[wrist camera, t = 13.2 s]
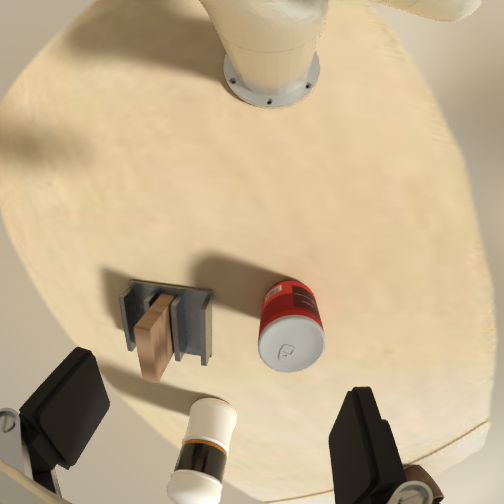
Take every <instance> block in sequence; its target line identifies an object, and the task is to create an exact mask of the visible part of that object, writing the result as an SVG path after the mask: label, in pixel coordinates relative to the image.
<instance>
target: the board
mask: <svg viewBox="0 0 504 504" xmlns="http://www.w3.org/2000/svg"><path fill="white" fill-rule="evenodd" d="M174 300H175V296H173V295H165V294H161V295H160V296H159V298H158V299H157V300H156V301H155V302H154V303H153V305H152V306H151V307H150V308H149V309H148V311H147V312H146V313H145V314H144V315H143V317H142V318H141V319H140V320H139V321H138V323H137V324H136V325H135V326H134V327H133V328H134V334H135V340H136V346H137V352H138V357H139V362H140V367H141V372H142V376H143V380H144V381H148V382H153V383H157V384H158V382H159V380H160V378H161V376H162V374H163V372H164V371H165V369H166V367H167V365H168V363H169V361H170V359H171V357H172V355H173V353H174V343H173V331H172V318H171V304H172V302H173V301H174Z"/></svg>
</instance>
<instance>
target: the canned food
mask: <svg viewBox="0 0 504 504" xmlns="http://www.w3.org/2000/svg"><path fill="white" fill-rule="evenodd" d="M324 348H325V335H324V331H323V326H322V322H321V319H320V315H319V311H318V308H317V304H316V300H315V297H314V295H313V293H312V291H311V290H310V289H309V288H308V287H307V286H306V285H304V284H302V283H301V282H298V281H292V280H290V281H283V282H280V283H278V284H276V285H275V286H273V287H272V288H271V289H270V290H269V291H268V292H267V294H266V295H265V297H264V300H263V304H262V312H261V321H260V329H259V337H258V351H259V355H260V357H261V359H262V361H263V362H264V363H265V364H266V365H267V366H269V367H270V368H272V369H274V370H276V371H280V372H286V373H291V372H298V371H302V370H304V369H307V368H309V367H310V366H312V365H313V364H314V363H316V362H317V361H318V359H319V358H320V357H321V355H322V354H323V351H324Z"/></svg>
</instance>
